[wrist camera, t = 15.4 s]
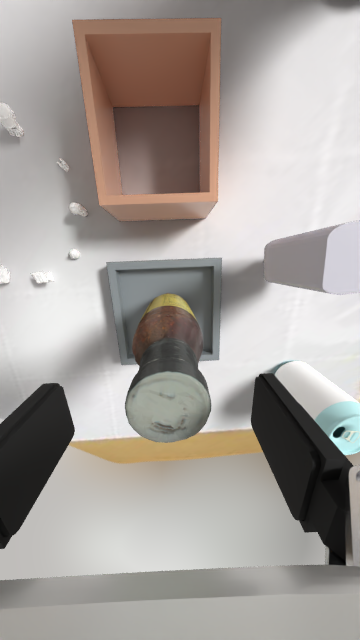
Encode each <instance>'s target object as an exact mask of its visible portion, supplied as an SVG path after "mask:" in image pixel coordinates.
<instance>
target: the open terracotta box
mask: <svg viewBox="0 0 360 640" xmlns="http://www.w3.org/2000/svg"><path fill="white" fill-rule="evenodd" d="M72 22H73V29H74V36H75V43H76V49H77V56H78V63H79V70H80V77H81V84H82V90H83V97H84V104H85V111H86V118H87V124H88V131H89V138H90V145H91V152H92V159H93V165H94V172H95V179H96V186H97V193H98V199H99V205H100V206H101V207H102V208H103V209H105V210H106V211H107V212H108V213H110V214H111V215H112V216H113V217H115V218H116V219H117V220H119V221H144V220H173V219H201V218H206V217H207V216H208V214H209V213H210V212H211V210H212V209H213V207H214V206H215V204H216V203H217V202H218V158H219V105H220V52H221V18H184V19H103V20H72ZM191 105H199V155H200V193H170V194H139V195H123V194H122V185H121V176H120V167H119V158H118V149H117V140H116V131H115V122H114V114H113V107H146V106H191Z"/></svg>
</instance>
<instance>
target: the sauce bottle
mask: <svg viewBox="0 0 360 640" xmlns="http://www.w3.org/2000/svg"><path fill="white" fill-rule="evenodd" d="M132 351H133V354H134V356H135V361H136V362H137V364H138V365H139V366H140V368H139V371H138V373H137V374H136V375H135V377H134V378H133V380H132V383H131V385H130V388H129V390H128V394H127V397H126V402H125V410H126V416H127V418H128V422H129V424H130V425H131V427H132V428H133V429H134V430H135V431H136V432H137V433H138V434H139V435H141V436H142V437H144V438H147V439H149V440H152V441H155V442H165V443H167V442H175V441H179V440H184V439H187V438H189V437H191V436H193V435H195V434H196V433H198V432H199V431H200V430H201V429H202V428H203V426H204V425H205V424H206V422H207V419H208V417H209V414H210V412H211V399H210V395H209V391H208V387H207V383H206V380H205V378H204V377H203V375H202V373H201V372H200V371H199V370H198V362H199V359H200V357H201V354H202V351H203V335H202V331H201V328H200V326H199V324H198V322H197V320H196V318H195V316H194V314H193V312H192V311H191V309H190V307H189V305H188V304H187V302H186V301H185V300H184V299H183V298H181V297H180V296H178V295H175V294H170V293H166V294H163V295H160V296H158V297H156V298H155V299H154V300H153V301H152V302H151V303H150V304H149V306H148V308H147V309H146V311H145V313H144V315H143V317H142V318H141V320H140V322H139V324H138V326H137V330H136V332H135V334H134V338H133V345H132Z"/></svg>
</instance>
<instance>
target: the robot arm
mask: <svg viewBox="0 0 360 640" xmlns="http://www.w3.org/2000/svg"><path fill="white" fill-rule="evenodd" d="M251 425H252V428H253V430H254V433H255V435H256V437H257V439H258V441H259V444H260V446H261V448H262V450H263V452H264V454H265V457H266V459H267V461H268V463H269V465H270V468H271V470H272V472H273V474H274V476H275V479H276V481H277V483H278V485H279V487H280V489H281V492H282V494H283V496H284V498H285V501H286V503H287V505H288V507H289V509H290V512H291V514H292V515H293V517H294V518H295V520H299V521H300V523H301V525H302V528H303V530H304V532H318V534H319V536H320V538H321V540H322V542H323V544H324V545H326V548H325V565H293V566H258V567H238V568H218V569H199V570H198V569H196V570H176V571H158V572H138V573H122V574H121V573H120V574H103V575H84V576H66V577H50V578H34V579H17V580H1V581H0V640H360V465H355V466H353V465H352V463H350V461H349V460H348V459H347V458H346V457H345V455H344V454H343V453H342V452H341V451H340V450H339V448H338V447H337V446H336V445H335V444H334V443H333V441H332V440H331V439H330V438H329V437H328V436H327V435H326V433H325V432H324V431H323V430H322V429H321V428H320V426H319V425H318V424H317V423H316V422H315V421H314V419H313V418H312V417H311V416H310V415H309V414H308V412H307V411H306V410H305V409H304V408H303V407H302V406H301V405H300V404H299V403H298V402H297V401H296V400H295V398H294V397H293V396H292V395H291V394H290V393H289V391H288V390H287V389H286V388H285V387H284V386H283V384H282V383H281V382H280V381H279V380H278V379H277V377H276V376H275V375H274V374H272V373H268V374H260V375H259V377H256V379H255V387H254V396H253V406H252V415H251ZM74 432H75V429H74V425H73V421H72V418H71V414H70V411H69V407H68V404H67V400H66V397H65V393H64V390H63V387H62V386H60V385H59V384H58V383H49V384H43V385H41V386H40V387H39V388H38V389H37V390H36V391H35V392H34V393H33V394H32V395H31V396H30V397H29V398H28V399H26V400H25V401H24V402H23V403H22V404H21V405H20V406H19V407H18V408H17V409H16V410H15V411H14V412H13V413H11V414H10V415H9V416H8V417H7V418H6V419H5V420H4V421H3V422H2V423H1V424H0V549H4V548H5V547H6V545H7V543H8V542H9V540H10V538H11V537H12V535H14V534H16V532H17V531H18V530H19V529H20V527H21V526H22V524H23V522H24V520H25V519H26V517H27V515H28V514H29V512H30V510H31V508H32V507H33V505H34V503H35V501H36V500H37V498H38V496H39V495H40V493H41V491H42V489H43V488H44V486H45V484H46V483H47V481H48V479H49V477H50V476H51V474H52V472H53V470H54V469H55V467H56V465H57V464H58V462H59V460H60V458H61V457H62V455H63V453H64V451H65V450H66V448H67V446H68V445H69V443H70V441H71V439H72V438H73V436H74Z"/></svg>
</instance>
